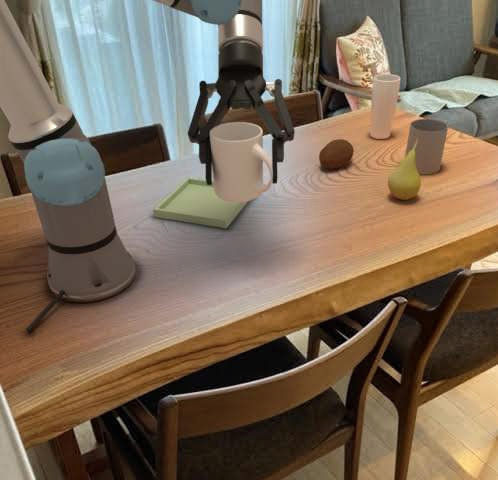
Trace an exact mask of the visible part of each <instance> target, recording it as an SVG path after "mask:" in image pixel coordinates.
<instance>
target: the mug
mask: <svg viewBox="0 0 498 480" xmlns="http://www.w3.org/2000/svg"><path fill="white" fill-rule="evenodd" d="M263 135H264V132H263V128H262V127H261V126H259V125H258V124H255V123H251V122H245V121H233V122H225V123H220V124H219V125H218V126H216V127H214V128H212V129H211V131H210V145H211V158H212V180H213V185H214V191H215V194H216V195H217V196H218V197H219V198H220V199H222V200H225V201H228V202H246V201H248V202H250V201H253V200H255V199H257V198H258V197H259V196H261V194H262V193H266V192H268V191H269V190H270V188H271V187H272V184H273V182H272V180H273V168H272V160H271V159H270V157H269V155H268V154H267V152H266V150H264V140H263V139H264V136H263ZM264 164H265V165H266V167H267V168H268V172H269V175H270V176H269V181H268V183H266V184H264Z"/></svg>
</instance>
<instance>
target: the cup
mask: <svg viewBox="0 0 498 480" xmlns="http://www.w3.org/2000/svg"><path fill="white" fill-rule="evenodd" d="M448 130H449V125H448V124H447V123H446V122H445V121H442V120H438V119H432V118H420V119H415V120H413V121H411V122H410V124H409V130H408V135H407V136H408V137H407V142H406V148H405V149H406V150H405V154H404V155H405V156H404V158H405V157H406V156H407V155H408V153H409V152H410V151H411V150H412V149H413V147H414V145H415V142H416V138H418V143H417V145H416V147H415V150H414V151H415V165H416V169H417V171H418V173H419V175H432V174H436V173H438V172H439V171H440V169H441V165H442V161H443V160H442V159H443V155H444V151H445V145H446V140H447V135H448Z"/></svg>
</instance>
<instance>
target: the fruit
mask: <svg viewBox="0 0 498 480" xmlns="http://www.w3.org/2000/svg"><path fill="white" fill-rule="evenodd" d="M417 143H418V138H416V142H415V145H414V147H413V149H412V150H411V151H410V152H409V153H408V155H407V156H406V157H405V156H404V158H403V160H402V162H401V163H400V164H399V165H398V166H397V167H396V169H394V170H393V171H392V172H391V173H390V175H389V176H388V180H387V187H388V189H389V192H390V193H391V195H392V196H393V197H394V198H396V199H398V200H402V201H407V200H410V199H412V198H413V197H415V196H417V195H418V193H419V191H420V189H421V186H422V185H421V184H422V180H421V176H420V174H419V173H418V171H417V169H416V165H415V151H414V150H415V147H416V145H417Z"/></svg>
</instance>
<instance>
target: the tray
mask: <svg viewBox="0 0 498 480" xmlns="http://www.w3.org/2000/svg"><path fill="white" fill-rule="evenodd" d="M248 202H249V201H246V202H228V201H225V200H222V199H220V198H219V197H218V196H217V195H216V194H215V191H214V185H213V179H212V185H207V182H206V178H197V177H191V176H187V177H186V178H185V179H184V180H183V181H182V182H180V184H178V185H177V186H176V187H175V188H174V189H173V190H172V191H171V192H170V193H169V194H168V195H167V196H166V197H165V198H164V199H162V201H160V203H159V204H158V205H156V206H155V207H154V208H153V209H152V210H153V215H154V218H160V219H166V220H171V221H179V222H185V223H190V224H196V225H201V226H202V225H203V226H208V227H214V228H215V227H216V228H220V229H221V228H222V229H227V228H228V227H229V226H231V223H233V221H234V220H235V219H236V217H237V216H238V214H240V212H241V211H242V210H243V209H244V207H245V206H246V205H247V204H248Z"/></svg>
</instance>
